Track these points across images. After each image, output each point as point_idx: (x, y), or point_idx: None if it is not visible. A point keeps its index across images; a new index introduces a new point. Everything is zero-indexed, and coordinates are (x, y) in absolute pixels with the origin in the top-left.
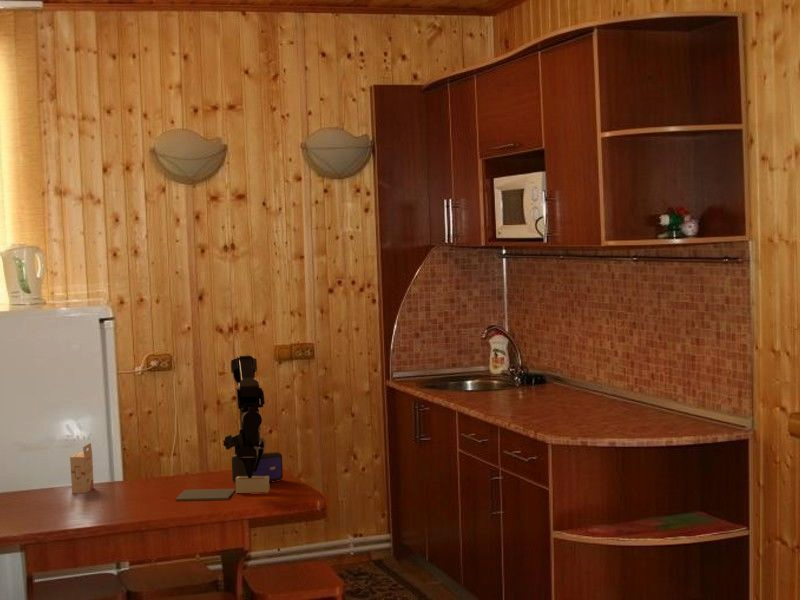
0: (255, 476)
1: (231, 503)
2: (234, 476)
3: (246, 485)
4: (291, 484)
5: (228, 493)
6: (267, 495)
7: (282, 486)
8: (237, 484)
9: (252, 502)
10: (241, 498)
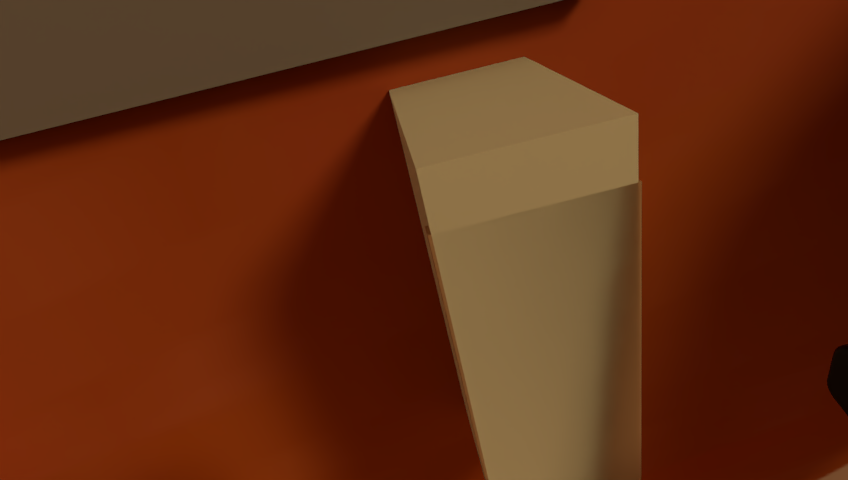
0: (589, 432)
1: None
2: None
3: (437, 280)
4: (818, 431)
5: (238, 28)
6: (363, 445)
7: (752, 403)
8: (409, 158)
9: (7, 458)
10: (138, 280)
